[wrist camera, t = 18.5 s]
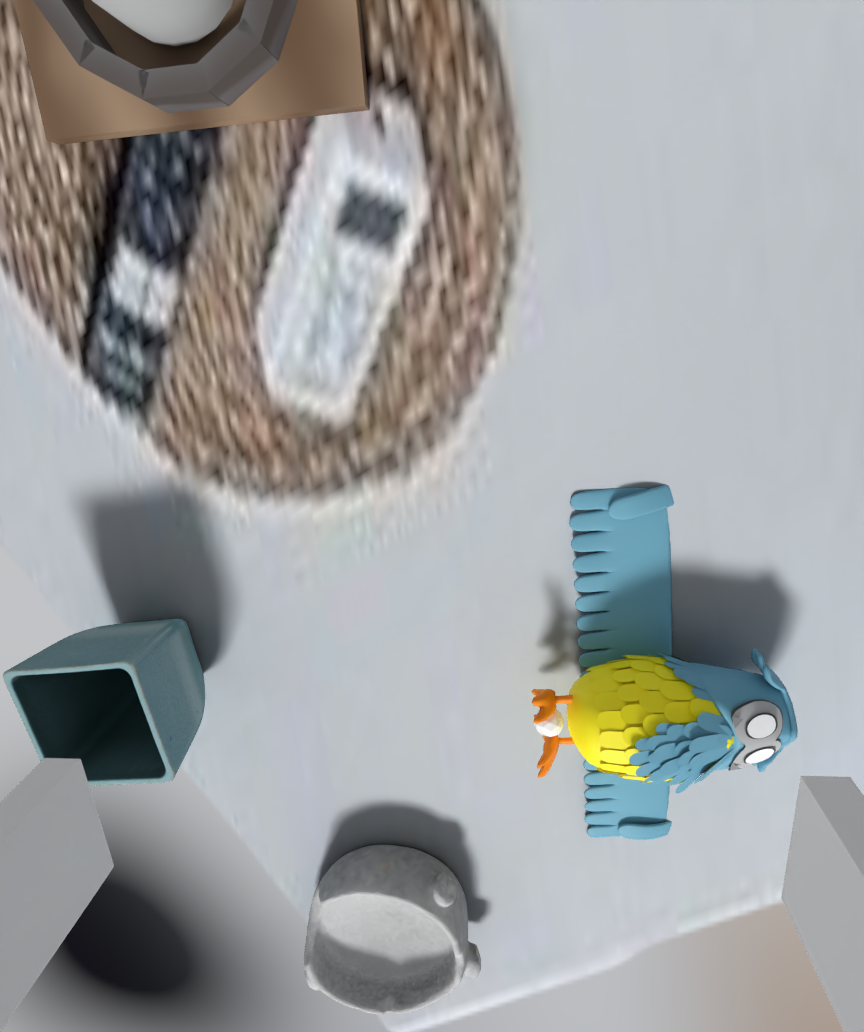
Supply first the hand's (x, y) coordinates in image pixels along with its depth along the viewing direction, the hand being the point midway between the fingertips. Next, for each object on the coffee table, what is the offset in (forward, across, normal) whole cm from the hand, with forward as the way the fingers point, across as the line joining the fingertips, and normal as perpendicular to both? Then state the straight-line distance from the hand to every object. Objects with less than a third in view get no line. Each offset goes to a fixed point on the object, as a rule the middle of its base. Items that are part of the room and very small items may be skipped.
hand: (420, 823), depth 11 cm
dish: (+29, -9, -38) cm, 49 cm away
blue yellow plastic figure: (+29, +11, -16) cm, 35 cm away
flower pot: (+29, -24, -14) cm, 40 cm away
